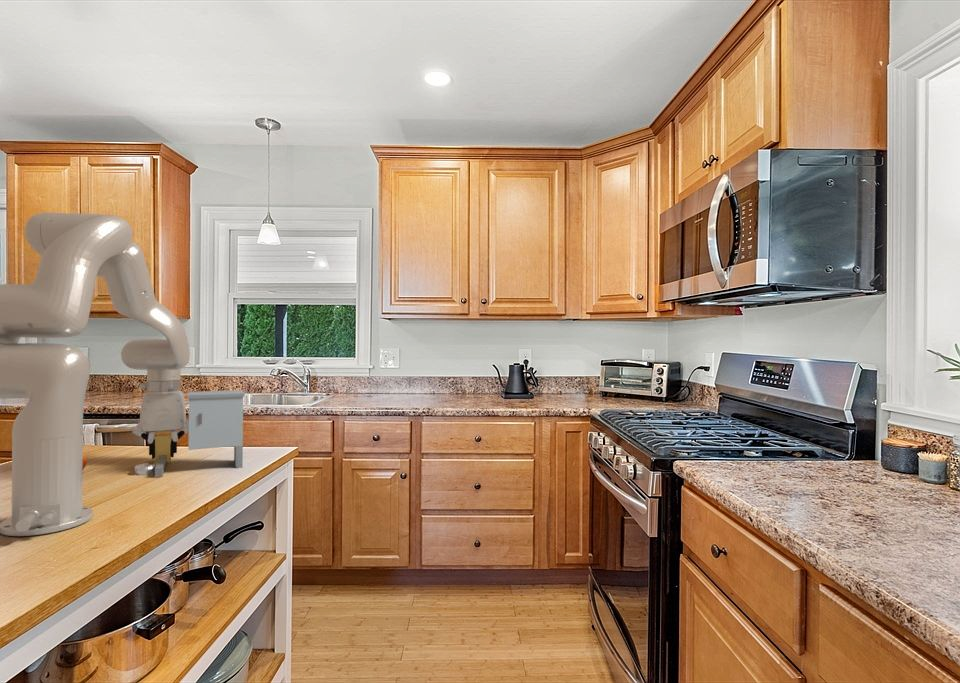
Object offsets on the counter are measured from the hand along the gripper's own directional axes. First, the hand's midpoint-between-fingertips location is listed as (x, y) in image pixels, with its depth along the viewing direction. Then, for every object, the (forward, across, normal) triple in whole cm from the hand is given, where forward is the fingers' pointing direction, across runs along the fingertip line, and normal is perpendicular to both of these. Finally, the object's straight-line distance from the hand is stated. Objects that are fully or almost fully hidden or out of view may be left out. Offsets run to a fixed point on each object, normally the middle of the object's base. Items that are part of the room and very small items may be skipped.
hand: (163, 456), depth 136 cm
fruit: (+2, -19, -7) cm, 20 cm away
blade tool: (+1, 0, -7) cm, 7 cm away
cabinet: (+1, +12, -11) cm, 16 cm away
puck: (+2, -3, -11) cm, 11 cm away
